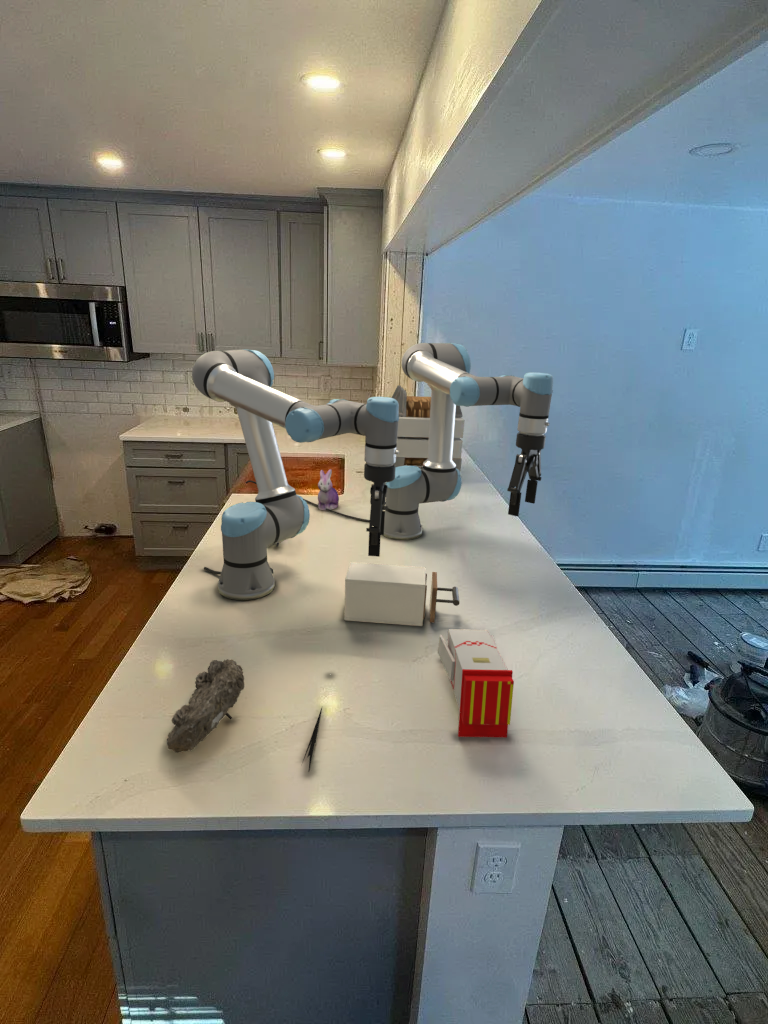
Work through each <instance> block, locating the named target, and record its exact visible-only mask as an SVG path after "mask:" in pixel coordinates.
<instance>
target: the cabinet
mask: <svg viewBox="0 0 768 1024" xmlns="http://www.w3.org/2000/svg"><path fill="white" fill-rule="evenodd" d="M426 570H427V569H426V566H415V565H401V564H387V563H386V564H385V563H374V562H373V563H372V562H358V561H350V562H349V566H348V570H347V572H346V575H345V580H344V613H343V614H344V618H343V620H344V621H349V622H361V623H362V622H363V623H374V624H376V623H377V624H389V625H402V626H413V627H423V625H424V624H423V623H424V619H423V611H424V598H425V585H427V580H426V574H427V571H426Z"/></svg>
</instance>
